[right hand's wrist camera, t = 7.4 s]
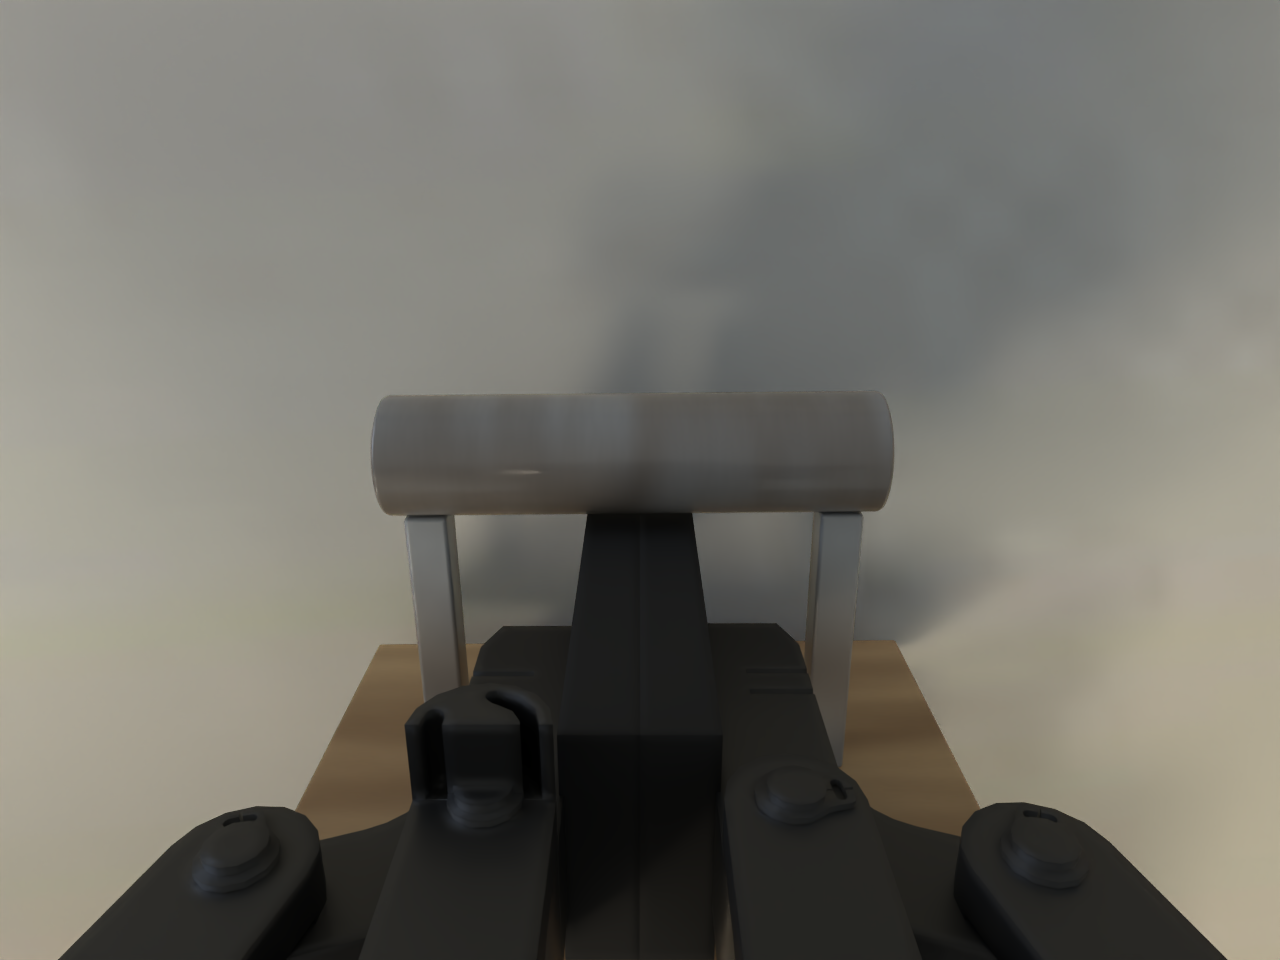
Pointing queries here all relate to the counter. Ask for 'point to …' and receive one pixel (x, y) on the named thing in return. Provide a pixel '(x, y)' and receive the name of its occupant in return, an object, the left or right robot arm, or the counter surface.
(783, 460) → the drawer
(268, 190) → the counter surface
